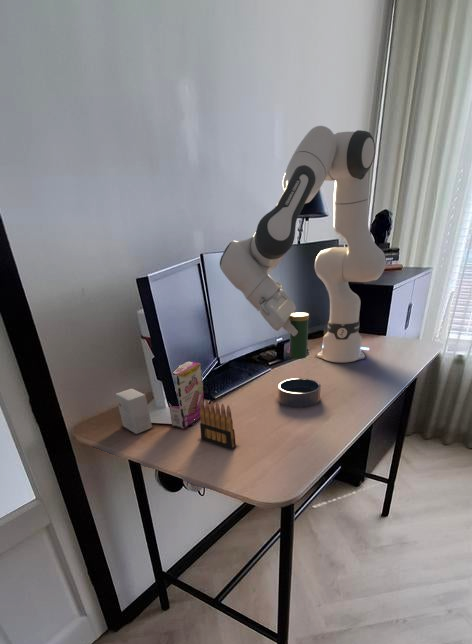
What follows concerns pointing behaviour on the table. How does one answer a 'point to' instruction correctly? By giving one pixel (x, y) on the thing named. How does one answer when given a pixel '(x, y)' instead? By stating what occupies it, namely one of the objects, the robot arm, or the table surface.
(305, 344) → the tea tin
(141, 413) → the small box
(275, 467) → the table surface
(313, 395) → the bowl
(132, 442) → the table surface
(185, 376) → the candy bar box
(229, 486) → the table surface
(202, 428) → the ammunition clip
